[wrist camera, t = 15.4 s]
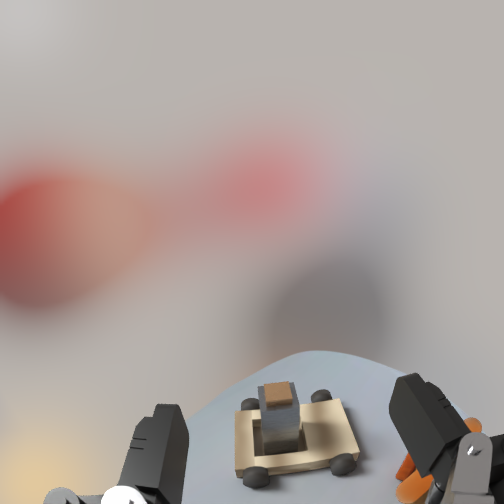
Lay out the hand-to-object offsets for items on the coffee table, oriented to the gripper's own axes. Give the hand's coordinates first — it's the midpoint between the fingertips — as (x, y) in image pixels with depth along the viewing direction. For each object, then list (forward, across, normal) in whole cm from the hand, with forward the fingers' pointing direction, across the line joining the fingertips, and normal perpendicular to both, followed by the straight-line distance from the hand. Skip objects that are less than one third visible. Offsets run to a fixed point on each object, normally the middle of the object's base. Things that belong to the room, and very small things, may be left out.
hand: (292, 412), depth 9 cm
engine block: (+18, -1, +28) cm, 33 cm away
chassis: (+18, -3, +28) cm, 33 cm away
